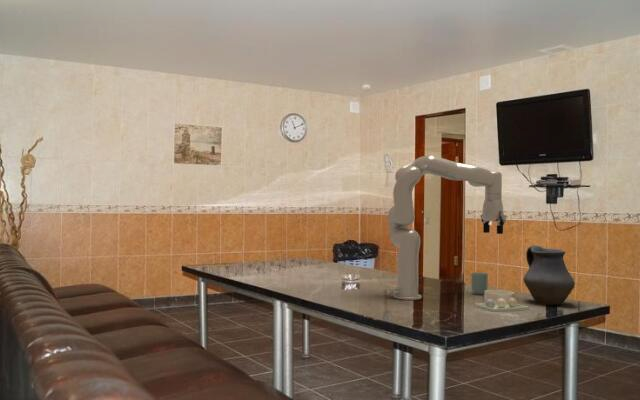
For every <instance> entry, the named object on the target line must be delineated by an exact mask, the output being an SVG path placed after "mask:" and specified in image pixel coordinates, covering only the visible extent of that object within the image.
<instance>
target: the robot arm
mask: <svg viewBox="0 0 640 400" xmlns="http://www.w3.org/2000/svg"><path fill="white" fill-rule="evenodd" d="M428 174H430V175H433V176H436V177H440V178H444V179H447V180H451V181H465V182H468V184H469V185H471V186H472V187H475V188H476V187H477V188H479V187H480V188H481V187H484V201H483V205H482V214H481V215H480V218H481V222H482V226H483V227H482V228H483V233H484V234H485V233H486V234H487V233H488V234H490V229H491V228H490V222H496V234H497V235H503V234H504V225H505V223H506V219H507V215H505V214H504V206H503V199H502V196H503V195H502V194H503V193H502V192H503V191H502V189H503V188H502V187H503V185H502V184H503V181H502V180H503V179H502V178H503V177H502V175H503V174H502V172H500V171H490V170H489V169H486V168H483V167H480V166H475V165H470V164H466V163H462V162H457V161H452V160H449V159H446V158H444V157H440V156H436V155H432V154H430V155H424V156H420V157H417V158H416V159H414V160H413V161H411V162H410V163H407V164H405V165H404V166H401V167H399V169H397V171H396V172H395V175H394V176H395V177H394V178H395V181H396V182H395V183H394V186H393V192H392V194H393V195H392V197H393V206H391V208H389V210H388V213H387V222H388V229H389V230H388V232H389V236H390V237H389V238H390V241H391V243H392V244H393V245H394V246H395V247H396V248H398V251H397V258H396V259H397V264H396V265H397V268H396V269H397V271H396V274H397V275H396V277H397V278H396V279H397V281H396V286H395V287H394V288H393V289H387V291H386V293H387V294H388V295H393V298H394V299H397V300H398V299H399V300H406V301H407V300H408V301H415V300H420V299H421V300H422V297H423V296H422V295H421V294H419V254H420V247H421V236H420V234H419V232H418V231H416V230H415V229H413V228H409V226H410V225H413V223H414V222H415V209H414V202H413V191H414V188H415V187H416V185H417V184H418V183H419V182H420V180H421V179H422V177H423V176H424V175H428Z"/></svg>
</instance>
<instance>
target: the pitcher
mask: <svg viewBox="0 0 640 400" xmlns="http://www.w3.org/2000/svg"><path fill="white" fill-rule="evenodd" d="M525 252H526V253H525V255H526V256H525V257H526V258H525V259H526V262H527V265H528V270H527V271H526V273H525V275H524V276H523V278H522V279H523V282H524V283H523V284H524V285H525V287H526V289H528V291H529V293H530V295H531V297H532V299H533V301H534V302H535V303H537V304H540V305H545V306H546V305H547V306H559V305H562V304H564V303H565V301H566V300H567V298H568V297H569V295H570V294H571V293H572V291H573V290H574V288H575V285H576V283H575V280H574V278H573V277H572V276H571V273H570V272H569V270H568V269H567V266H566V263H565V259H564V256H565V254H566V251H565V250H562V249H558V248H556V249H554V248H544V247H542V246H539V245H535V244H534V245H531V246H529V247H527V249H526V251H525Z"/></svg>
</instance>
